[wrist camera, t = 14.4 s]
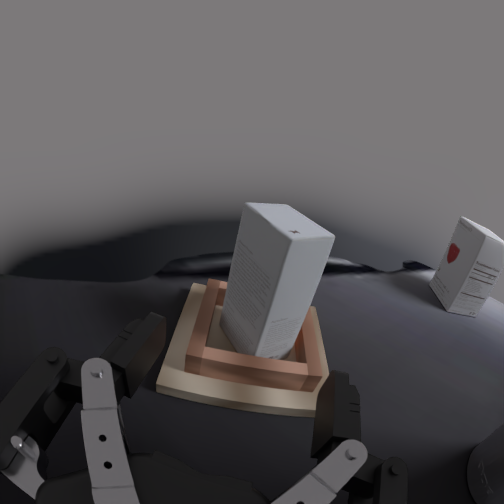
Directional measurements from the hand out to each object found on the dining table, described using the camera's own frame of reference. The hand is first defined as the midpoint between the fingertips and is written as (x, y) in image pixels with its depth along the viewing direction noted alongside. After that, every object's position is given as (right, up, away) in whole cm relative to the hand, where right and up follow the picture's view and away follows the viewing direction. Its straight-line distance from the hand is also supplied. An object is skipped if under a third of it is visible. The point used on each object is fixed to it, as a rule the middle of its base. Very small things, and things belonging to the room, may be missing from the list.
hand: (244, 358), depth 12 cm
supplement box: (+38, -5, +31) cm, 49 cm away
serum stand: (0, -4, +13) cm, 14 cm away
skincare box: (0, -3, +13) cm, 13 cm away
